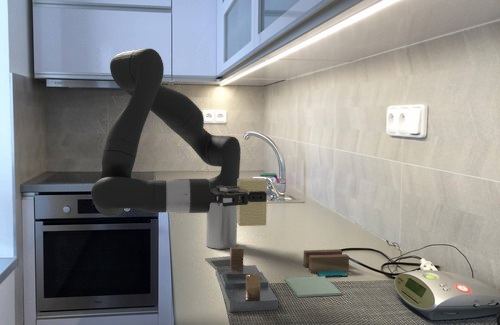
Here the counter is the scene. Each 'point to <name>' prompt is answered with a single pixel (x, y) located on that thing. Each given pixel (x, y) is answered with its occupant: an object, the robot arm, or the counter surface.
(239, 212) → the brushed brass block
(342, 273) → the smartphone
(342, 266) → the phone stand
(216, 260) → the smartphone
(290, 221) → the counter surface
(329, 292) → the pad
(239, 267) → the grey slotted base
